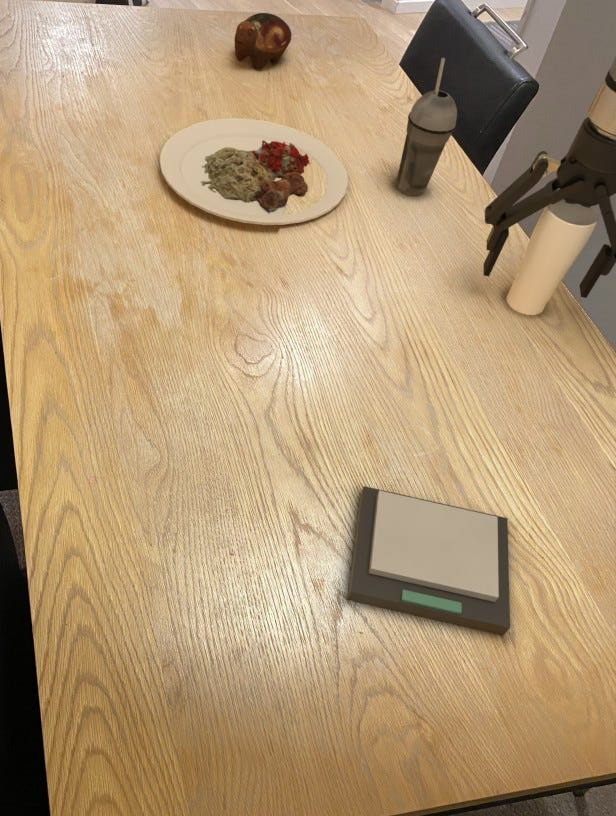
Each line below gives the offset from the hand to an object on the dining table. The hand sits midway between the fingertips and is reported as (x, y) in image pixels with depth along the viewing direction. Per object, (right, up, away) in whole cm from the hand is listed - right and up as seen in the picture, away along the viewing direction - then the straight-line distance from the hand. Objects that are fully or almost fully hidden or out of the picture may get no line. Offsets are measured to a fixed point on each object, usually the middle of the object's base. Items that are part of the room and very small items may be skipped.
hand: (534, 281), depth 105 cm
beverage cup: (-13, +20, +18) cm, 30 cm away
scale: (-22, -39, -24) cm, 51 cm away
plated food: (-38, +22, +16) cm, 47 cm away
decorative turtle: (-36, +56, +40) cm, 77 cm away
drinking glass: (0, -3, +4) cm, 5 cm away
